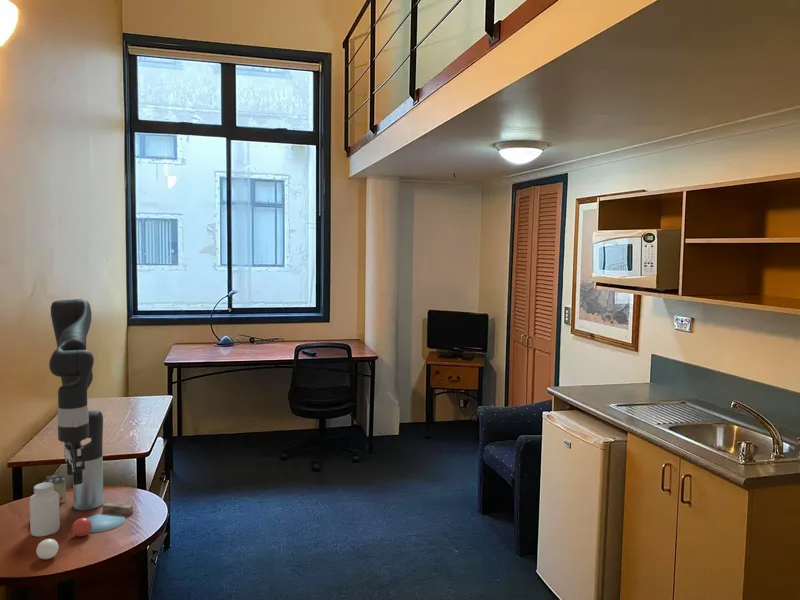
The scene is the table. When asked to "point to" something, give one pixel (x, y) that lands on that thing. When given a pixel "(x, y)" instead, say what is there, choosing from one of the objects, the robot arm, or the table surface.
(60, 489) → the lighter
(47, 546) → the cue ball
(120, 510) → the strip
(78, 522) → the red ball
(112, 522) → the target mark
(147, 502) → the table surface
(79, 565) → the table surface
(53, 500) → the pill bottle
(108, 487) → the table surface
